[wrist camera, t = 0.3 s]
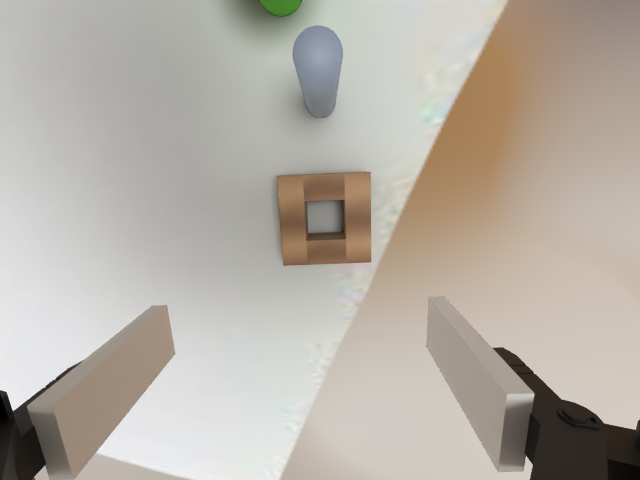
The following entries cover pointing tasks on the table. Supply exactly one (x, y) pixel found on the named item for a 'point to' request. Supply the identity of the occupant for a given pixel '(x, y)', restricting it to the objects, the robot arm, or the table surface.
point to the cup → (280, 6)
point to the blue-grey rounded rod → (318, 68)
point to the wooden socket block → (325, 246)
